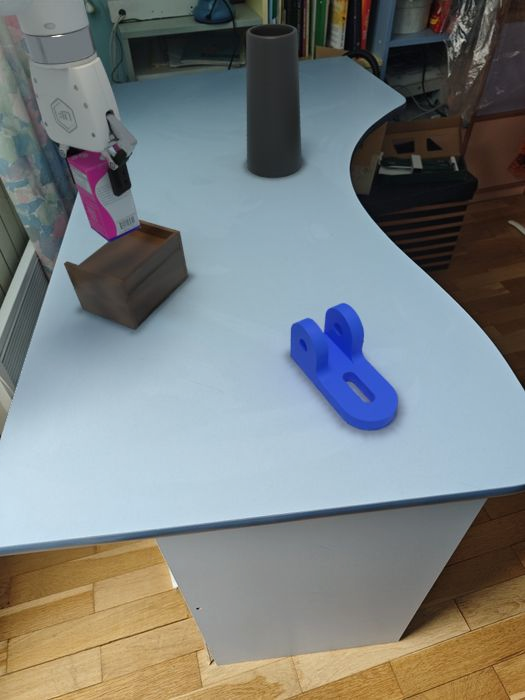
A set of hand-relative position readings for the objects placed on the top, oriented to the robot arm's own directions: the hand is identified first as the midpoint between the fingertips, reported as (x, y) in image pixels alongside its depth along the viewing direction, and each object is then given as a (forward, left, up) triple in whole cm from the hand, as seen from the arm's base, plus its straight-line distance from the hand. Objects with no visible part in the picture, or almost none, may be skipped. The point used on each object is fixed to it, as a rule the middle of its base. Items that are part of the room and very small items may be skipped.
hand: (102, 185), depth 70 cm
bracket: (+40, 0, -23) cm, 46 cm away
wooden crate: (-2, +3, -23) cm, 23 cm away
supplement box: (0, 0, -7) cm, 7 cm away
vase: (-2, +58, -23) cm, 62 cm away
